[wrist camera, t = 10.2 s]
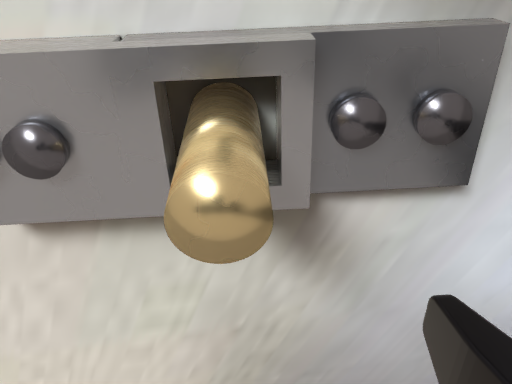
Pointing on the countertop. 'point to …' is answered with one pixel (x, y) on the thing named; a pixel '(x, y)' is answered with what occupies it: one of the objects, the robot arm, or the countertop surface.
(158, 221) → the countertop surface
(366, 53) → the lower chain end
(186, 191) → the brass pin
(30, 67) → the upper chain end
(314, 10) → the countertop surface
